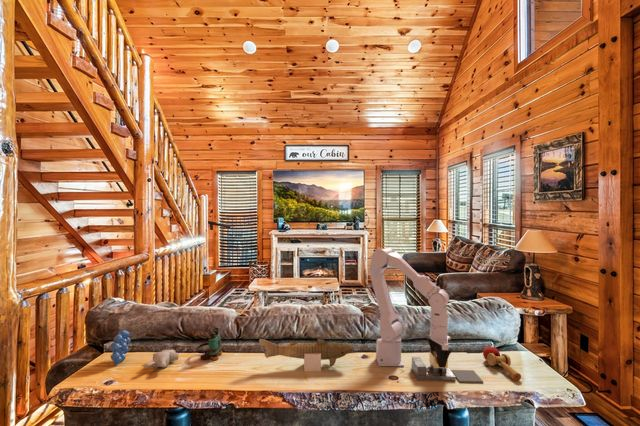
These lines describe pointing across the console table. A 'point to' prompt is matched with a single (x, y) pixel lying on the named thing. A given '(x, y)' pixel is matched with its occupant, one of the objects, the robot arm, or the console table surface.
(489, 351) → the kendama
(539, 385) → the console table surface
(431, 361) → the wooden hollow block
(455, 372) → the rubber mat
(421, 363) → the gray fixture base
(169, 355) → the bunny figurine
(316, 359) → the wood carving
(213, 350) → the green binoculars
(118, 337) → the grapes
